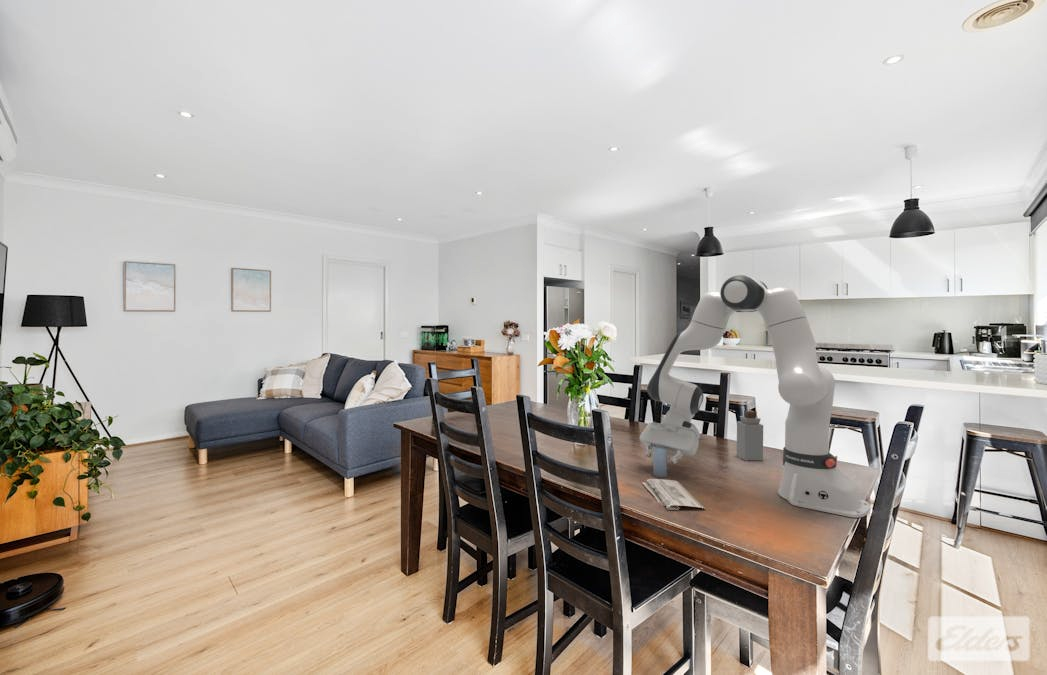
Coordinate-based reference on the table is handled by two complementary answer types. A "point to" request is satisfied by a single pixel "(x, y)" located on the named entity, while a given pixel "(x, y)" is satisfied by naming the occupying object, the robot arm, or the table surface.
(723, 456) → the table surface
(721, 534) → the table surface
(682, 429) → the robot arm
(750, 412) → the perfume bottle
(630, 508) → the table surface
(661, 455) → the blue peg
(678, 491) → the newspaper
